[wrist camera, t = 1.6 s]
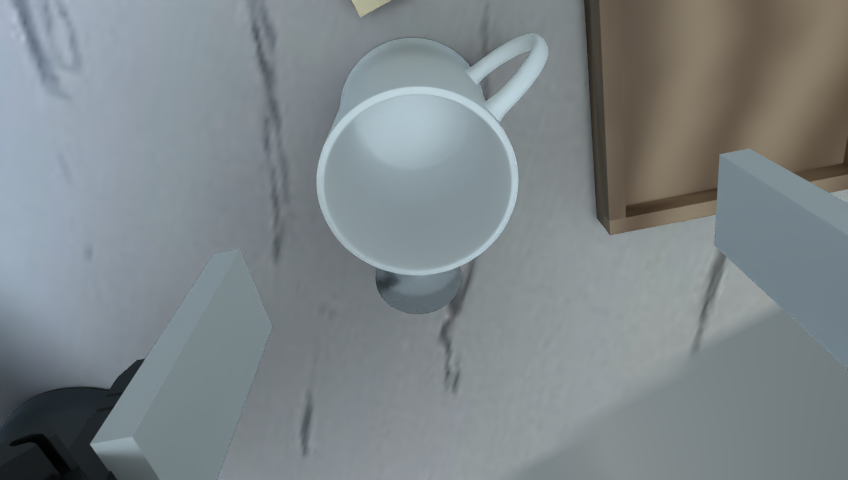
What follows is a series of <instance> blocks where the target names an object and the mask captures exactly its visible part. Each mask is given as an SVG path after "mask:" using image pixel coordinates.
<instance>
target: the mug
mask: <svg viewBox="0 0 848 480" xmlns="http://www.w3.org/2000/svg"><path fill="white" fill-rule="evenodd" d="M530 50H531V52H530V54H529V56H528V57H527V59H526V60H525V62H524V63H523V65H522V66H521V67H520V68H519V70H518V71H517V72H516V73H515V74H514V76H513V77H512V78H511V79H510V80H509V81H508V82H507V83H506V84H505V85H504V86H503V87H502V88H501V89H500V90H499V91H498V92H497V93H496V94H495V95H493V96H492V97H491V98H489V99H488V100H487V101H486V100H485V98H484V96H483V91H482V88H481V85H480V81H481V80H482V79H483V78H484V77H485V76H487V75H488V74H489V73H490V72H492V71H493V70H494V69H496V68H497V67H499V66H500V65H502V64H503V63H505V62H507V61H508V60H510V59H512V58H513V57H515V56H517V55H519V54H522V53H524V52H527V51H530ZM547 58H548V46H547V44H546V42H545V40H544V39H543V38H542V37H541V36H539V35H538V34H534V33H529V34H524V35H521V36H519V37H516V38H514V39H512V40H510V41H508V42H506V43H505V44H503V45H501V46H500V47H498V48H496V49H495V50H493V51H492V52H490V53H489V54H488V55H486V56H485V57H483V58H482V59H481V60H479V61H478V62H477V63H475V64H474V65H473V66H471V67H470V65H469V64H468V63H467V62H466V61H465V60H464V59H463V58H462V57H461V56H460V55H459V54H458V53H456V52H455V51H454V50H452V49H451V48H449V47H447V46H445V45H443V44H441V43H438V42H436V41H432V40H429V39H423V38H401V39H396V40H392V41H389V42H386V43H384V44H382V45H380V46H378V47H376V48H374V49H373V50H371V51H370V52H368V53H367V54H366V55H365V56H364V57H363V58H361V59H360V61H359V62H358V63H357V64H356V65H355V66H354V68H353V69H352V71H351V72H350V74H349V76H348V78H347V80H346V82H345V85H344V88H343V91H342V95H341V101H340V108H339V110H338V113H337V115H336V117H335V120H334V122H333V125H332V127H331V129H330V132H329V134H328V136H327V139H326V141H325V144H324V146H323V149H322V152H321V155H320V158H319V163H318V168H317V195H318V200H319V204H320V208H321V211H322V214H323V216H324V218H325V220H326V222H327V224H328V226H329V228H330V229H331V231H332V232H333V234H334V235H335V237H336V238H337V239H338V240H339V241H340V243H341V244H342V245H343V246H344V247H345V248H346V249H348V250H349V251H350V252H351V253H352V254H354V255H355V256H356V257H358V258H359V259H361V260H363V261H364V262H366V263H368V264H370V265H372V266H374V267H377V268H379V269H382V270H385V271H389V272H392V273H397V274H404V275H429V274H436V273H441V272H445V271H448V270H451V269H454V268H457V267H459V266H461V265H463V264H465V263H467V262H469V261H471V260H472V259H474V258H476V257H477V256H478V255H480V254H481V253H482V252H484V251H485V250H486V249H487V248H488V247H489V246H490V245H491V244H492V243H493V242H494V241H495V240H496V239H497V238H498V236H499V235H500V234H501V232H502V231H503V230H504V228H505V226H506V225H507V223H508V221H509V219H510V217H511V214H512V212H513V209H514V206H515V203H516V198H517V193H518V167H517V161H516V157H515V153H514V150H513V148H512V145H511V143H510V141H509V139H508V137H507V135H506V133H505V131H504V130H503V128H502V126H501V125H500V123H499V122H500V121H501V120H502V118H503V117H504V115H505V114H506V113H507V112H508V111H509V110H510V109H511V108H512V107H513V106H514V105H515V104H516V102H517V101H518V100H519V99H520V98H521V97H522V96H523V95H524V94H525V93H526V91H527V90H528V89H529V88H530V87H531V85H532V84H533V83H534V81H535V80H536V79H537V77H538V76H539V74H540V73H541V71H542V69H543V67H544V65H545V63H546V61H547Z"/></svg>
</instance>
